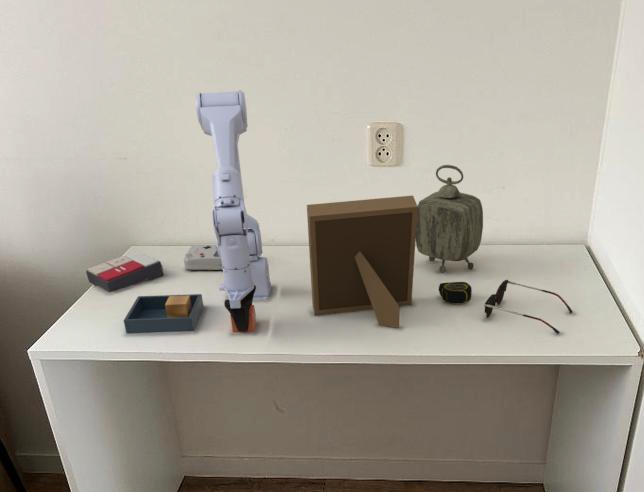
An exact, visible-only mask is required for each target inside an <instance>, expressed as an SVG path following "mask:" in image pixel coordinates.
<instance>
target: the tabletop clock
mask: <svg viewBox="0 0 644 492" xmlns="http://www.w3.org/2000/svg"><path fill="white" fill-rule="evenodd" d="M442 169H452V170H455V171H456V172H458V173H459V174H460V176H461V177H460V179H458V180H455V181H454V180H453V179H452V177H450V176H449V177H447V178H446V179H443V178H441V177H440V176H439V171H441V170H442ZM435 175H436V176H435V177H436V178H437V180H438V181H440V182H441V183H443V184H444V185H442V186H441V187H440V188H439V190H438V191H435V192H433V193H431V194H429V195H428V196H425V197H424V198H423V199H421V200H419V201H418V204H417V206H418V211H417V226H416V241H415V247H416V250H417V252H418V253H420V254H421V255H424V256H426V257H428V260H429V261H430V262H435V260H436V259H437V260H440V261H441V265H440V266H439V269H438V270H439V272H440V273H445V272H446V266H445V263H446V261H448V262H462V261H465V262H466V263H467V269H469V270H472V269H474V268H475V265H474V263H473V262H470V260H469V257H470V256H472V255H473V254H474V253H475V252H477V251H479V250H478V249H479V248H480V245H481V242H482V237H483V230H484V211H483V204H482V201H481V199H480V198H479V197H477V196H475V195H473V194H469V193H464V192H460V190H459V188H458V187H457V186H456V185H458V184H460V183H461V182H463V180H464V173H463V171H462V170H461V169H460V167H458V166H455V165H451V164H443V165H440V166H439V167H438V168H436V170H435Z"/></svg>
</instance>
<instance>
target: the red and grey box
mask: <svg viewBox="0 0 644 492" xmlns="http://www.w3.org/2000/svg"><path fill="white" fill-rule="evenodd" d="M85 273H86V276H87V280H88V282H89V283H90V284H92V285H94V286H95V287H99V288H100V289H102V290H103V291H106V292H108V293H112V292H115V291H118V290H122V289H125V288H127V287H130V286H134V285H137V284H139V283H141V282H144V281H146V280H150V281H153V280H155V279H158V278H160V277H162V276H164V274H165V273H164V270H163V266H162V262H161V261H160V260H158V259H156V258H154V257H151V256H150V255H147V254H145V253H143V252H141V251H134V252H131V253H128V254H126V255H121V256H119V257H115V258H113V259H111V260H108V261H106V262H103V263H99V264H96V265H94V266H91V267H88V268H87V270H85Z"/></svg>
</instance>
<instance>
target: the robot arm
mask: <svg viewBox="0 0 644 492" xmlns="http://www.w3.org/2000/svg"><path fill="white" fill-rule="evenodd" d="M246 103H247V102H246V97H245V92H243V91H242V90H241V89H240V90H237V91H235V90H233V91H217V92H203V93H201V92H197V94H196V95H195V110H196V117H197V120H198V121H197V122H198V124H199V125H200V128H201V130H202V131H203V134H204V135H207V136H210V137H211V139H212V144H213V150H214V156H215V161H216V169H215V171H214V172H213V173H212V175H211V183H212V193H213V194H212V195H213V204H214V205H213V206H214V209H212V212H211V213H212V214H211V218H212V225H213V231H214V234H215V240H216V246H217V250H218V255H219V257H221V261H222V268H223V270H222V273H223V281H224V283H221V284H220V285H219V290H220V291H224V292H225V294H226V296H227V298H226V299H225V300H224V301H223V302H224V303H223V304H224V308H225V309H226V310H227V312H229V314H230V315H231V316H232V318H233V320H234V323H235V325H236V328H237V330H238V331H248V327H249V311H250V307H251V305H253V301H254V300H267V299H269V295H270V292H271V287H272V285H271V284H272V283H271V277H270V268H269V260H268V258H267V257H266V256H262V254H263V242H262V234H261V230H260V229H261V228H260V223H259V222H258V220H257V219H256V218H255V217H253V216H251V215H250V214H248V213H247V209H246V206H245V197H244V188H243V180H242V179H243V178H242V171H241V170H242V169H241V162H240V153H239V152H240V151H239V140H240V135H243V134H244V133H246V132H247V131H248V129H247V128H248V126H249V125H248V113H247V104H246ZM231 316H230V317H231Z"/></svg>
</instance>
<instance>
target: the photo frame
mask: <svg viewBox="0 0 644 492" xmlns="http://www.w3.org/2000/svg"><path fill="white" fill-rule="evenodd" d="M417 211H418V204H417V202H416V199H415V196H414V195H403V196H392V197H380V198H370V199H357V200H356V199H355V200H346V201H335V202H325V203H312V204H311V203H310V204H306V217H307V232H308V233H307V234H308V236H307V237H308V252H309V268H310V269H309V270H310V285H311V286H310V287H311V302H312V309H313V313H314V316H324V315H333V314H343V313H351V312H360V311H361V312H362V311H370V310H371V311H372V310H373V312H374V314H375V318H376V321H377V324H378V325H379V326H383V327H392V328H399V327H400V307H409V306H412V303H413V302H412V301H413V283H414V269H415V256H416V226H417Z"/></svg>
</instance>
